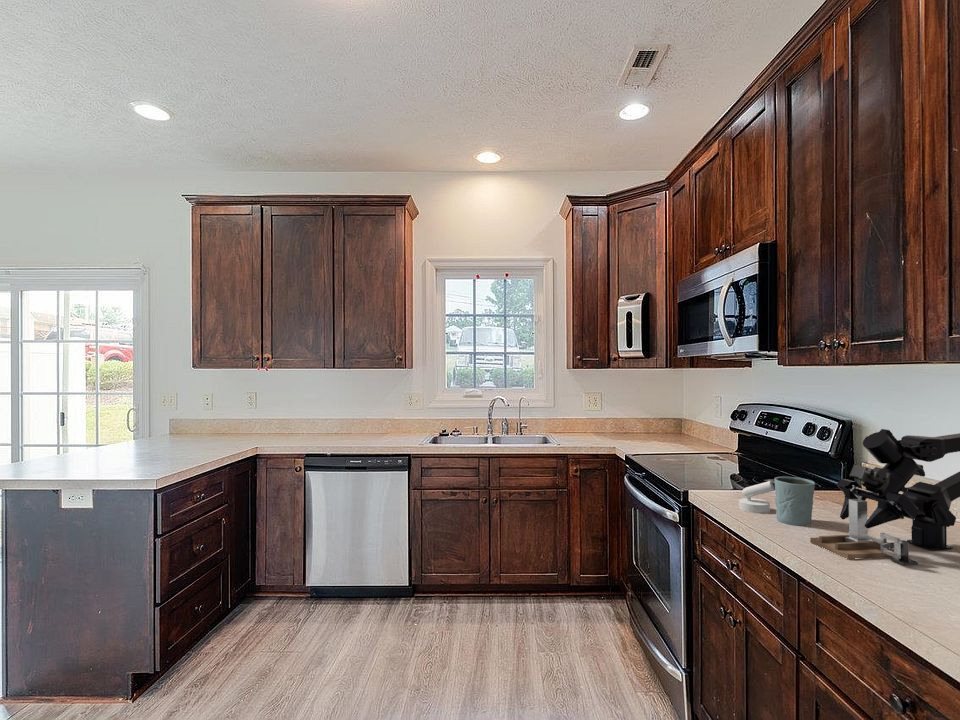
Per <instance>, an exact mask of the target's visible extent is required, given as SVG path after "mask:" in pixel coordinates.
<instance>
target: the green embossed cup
mask: <svg viewBox="0 0 960 720" xmlns="http://www.w3.org/2000/svg"><path fill="white" fill-rule="evenodd" d="M815 486H816V482H815V481H814V480H811V479H807V478H804V477H795V476H794V477H793V476H777V477H774V488H775V491H774V492H775V493H774V494H775V507H776V510H775V513H776V519H777V522H780V523H781V524H784V525H790V526H795V525H796V527H797V526H798V527H807V526H806V525H808V526H810V525H811V523H812V517H813V514H812V513H813V507H814V506H813V505H814V495H815Z"/></svg>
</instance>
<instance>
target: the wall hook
mask: <svg viewBox="0 0 960 720" xmlns="http://www.w3.org/2000/svg"><path fill="white" fill-rule="evenodd" d="M775 491H776V490H775V484H773V482H772V481H771V480H768V481H766V482H765V481H764V482H761V483H758V484H754V485H753V484H752V485H750V486H746V487H744V488H743V489H742V492H741V493H742V495H743V496H744V497H742V498H739V499H738V509H739V510H741V511H743V512H747V513H752V514H768V513H770V511H771V507H770V506H771V504H770V502H769V501H768V500H765V499H760V498H755V496H759V495H763V494H767V493H771V492H775Z"/></svg>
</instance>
